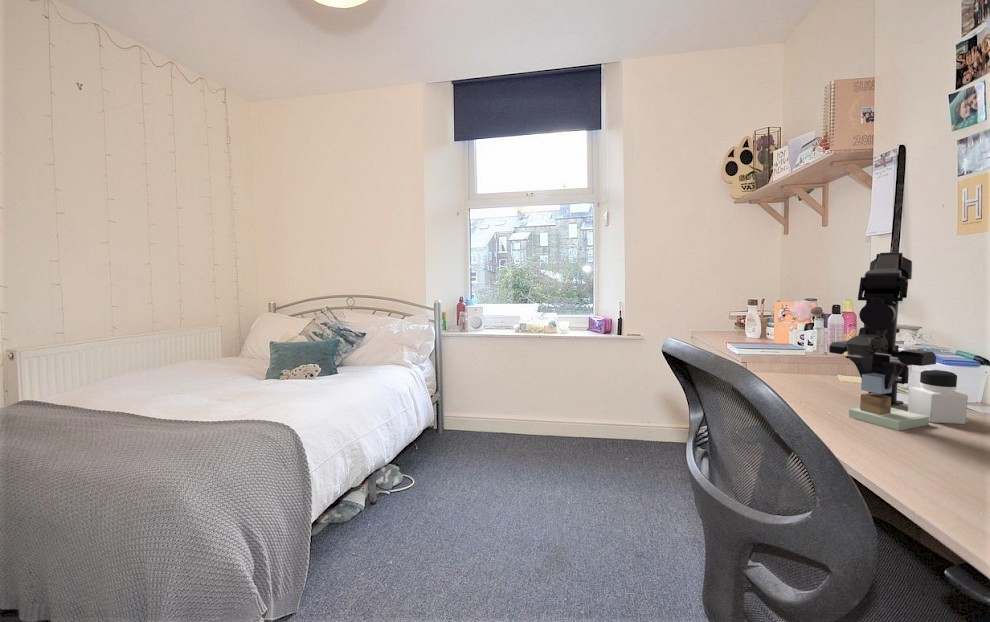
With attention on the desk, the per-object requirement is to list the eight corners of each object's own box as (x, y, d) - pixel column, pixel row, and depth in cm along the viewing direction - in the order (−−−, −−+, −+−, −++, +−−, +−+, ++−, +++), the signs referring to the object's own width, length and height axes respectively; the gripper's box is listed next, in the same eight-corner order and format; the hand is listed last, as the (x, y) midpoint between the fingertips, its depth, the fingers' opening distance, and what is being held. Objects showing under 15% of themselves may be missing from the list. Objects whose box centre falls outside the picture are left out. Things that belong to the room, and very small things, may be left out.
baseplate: (877, 411, 105) (878, 404, 105) (928, 424, 95) (929, 416, 95) (848, 416, 101) (849, 408, 101) (898, 430, 92) (899, 421, 92)
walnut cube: (870, 408, 101) (871, 392, 101) (890, 413, 98) (891, 397, 97) (860, 410, 100) (860, 394, 100) (879, 415, 96) (880, 398, 96)
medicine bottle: (966, 424, 95) (970, 374, 94) (930, 422, 96) (933, 373, 96) (940, 414, 102) (943, 368, 101) (906, 413, 103) (909, 367, 103)
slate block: (871, 388, 101) (872, 372, 101) (891, 392, 97) (892, 376, 97) (861, 390, 100) (861, 374, 100) (880, 394, 96) (881, 377, 96)
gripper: (815, 322, 104) (812, 381, 105) (907, 330, 86) (903, 401, 87) (845, 320, 107) (842, 377, 108) (939, 327, 89) (935, 396, 91)
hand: (876, 387), depth 99 cm, fingers closed on slate block, 4 cm apart
